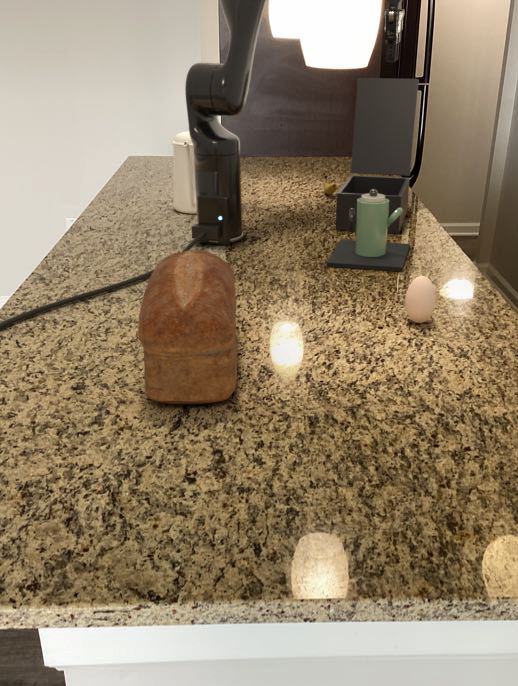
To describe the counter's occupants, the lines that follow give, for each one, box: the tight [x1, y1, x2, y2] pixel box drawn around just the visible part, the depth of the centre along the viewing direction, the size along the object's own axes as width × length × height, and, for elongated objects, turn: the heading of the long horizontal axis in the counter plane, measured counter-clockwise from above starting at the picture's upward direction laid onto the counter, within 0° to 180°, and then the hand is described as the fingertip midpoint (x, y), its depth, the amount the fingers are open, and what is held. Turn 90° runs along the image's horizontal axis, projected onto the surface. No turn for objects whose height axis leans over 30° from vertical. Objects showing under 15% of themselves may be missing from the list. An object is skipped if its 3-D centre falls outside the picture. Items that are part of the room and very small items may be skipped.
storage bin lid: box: [350, 77, 420, 177], centre depth 179 cm, size 20×14×1 cm
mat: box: [326, 239, 411, 273], centre depth 152 cm, size 16×14×1 cm
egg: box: [404, 275, 437, 324], centre depth 120 cm, size 5×5×7 cm
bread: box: [137, 249, 238, 405], centre depth 105 cm, size 12×31×14 cm, turn 4°
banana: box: [323, 175, 338, 196], centre depth 198 cm, size 10×2×4 cm, turn 10°
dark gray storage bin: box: [335, 174, 410, 234], centre depth 175 cm, size 20×14×8 cm
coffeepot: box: [172, 124, 197, 215], centre depth 181 cm, size 11×25×19 cm, turn 179°
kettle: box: [348, 189, 403, 257], centre depth 149 cm, size 10×6×12 cm, turn 78°
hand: (391, 60), depth 180 cm, fingers open, 4 cm apart
